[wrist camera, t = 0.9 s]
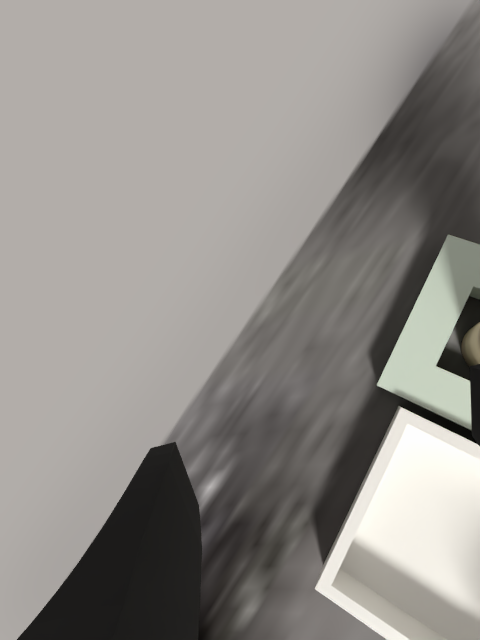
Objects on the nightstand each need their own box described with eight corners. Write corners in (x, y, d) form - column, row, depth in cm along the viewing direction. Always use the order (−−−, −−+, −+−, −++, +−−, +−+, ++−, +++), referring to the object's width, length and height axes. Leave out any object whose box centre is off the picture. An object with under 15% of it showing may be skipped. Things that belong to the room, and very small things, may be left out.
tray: (602, 504, 20) (639, 522, 17) (514, 694, 20) (536, 744, 17) (398, 405, 23) (401, 407, 21) (322, 565, 23) (314, 589, 21)
